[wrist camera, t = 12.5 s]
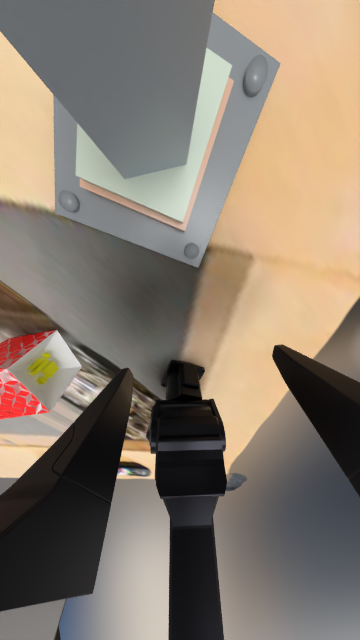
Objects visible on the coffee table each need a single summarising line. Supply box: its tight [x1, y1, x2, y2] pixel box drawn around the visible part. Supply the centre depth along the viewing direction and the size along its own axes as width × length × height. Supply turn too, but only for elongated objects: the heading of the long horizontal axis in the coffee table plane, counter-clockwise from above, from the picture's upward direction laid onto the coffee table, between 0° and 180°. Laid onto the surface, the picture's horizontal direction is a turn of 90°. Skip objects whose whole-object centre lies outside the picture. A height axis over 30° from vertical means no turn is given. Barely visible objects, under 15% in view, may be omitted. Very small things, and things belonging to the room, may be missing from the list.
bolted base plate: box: [54, 12, 280, 268], centre depth 13 cm, size 16×16×4 cm
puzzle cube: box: [0, 330, 82, 419], centre depth 22 cm, size 8×8×8 cm
